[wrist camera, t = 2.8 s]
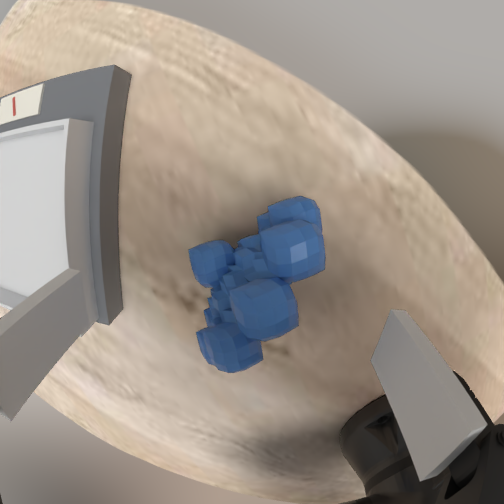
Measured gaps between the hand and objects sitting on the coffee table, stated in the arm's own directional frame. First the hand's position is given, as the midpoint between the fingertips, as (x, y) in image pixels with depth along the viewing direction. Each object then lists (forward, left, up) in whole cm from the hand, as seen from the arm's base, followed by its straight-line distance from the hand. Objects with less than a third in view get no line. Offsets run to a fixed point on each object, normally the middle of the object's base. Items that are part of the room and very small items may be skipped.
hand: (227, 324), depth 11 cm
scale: (+22, -3, -11) cm, 25 cm away
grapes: (0, 0, -12) cm, 12 cm away
